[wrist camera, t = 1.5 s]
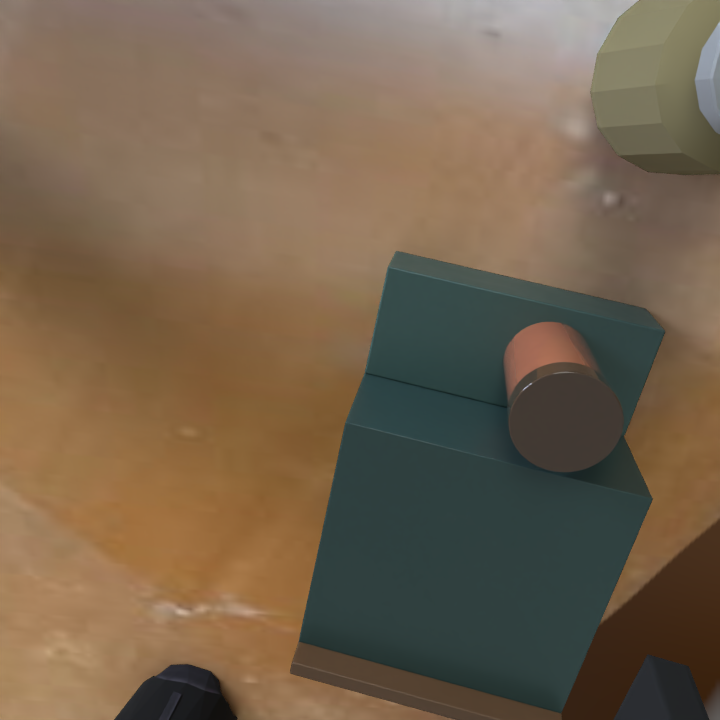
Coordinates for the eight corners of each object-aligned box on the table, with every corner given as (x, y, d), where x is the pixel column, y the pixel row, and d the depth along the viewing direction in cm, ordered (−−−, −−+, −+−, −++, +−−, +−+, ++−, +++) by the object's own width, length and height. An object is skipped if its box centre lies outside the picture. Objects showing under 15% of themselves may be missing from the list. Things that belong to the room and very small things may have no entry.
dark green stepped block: (396, 250, 38) (366, 307, 27) (646, 308, 37) (718, 390, 26) (331, 540, 45) (289, 674, 35) (538, 594, 44) (560, 749, 34)
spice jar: (515, 310, 34) (526, 360, 27) (606, 331, 34) (640, 387, 27) (490, 391, 36) (495, 457, 29) (577, 412, 35) (602, 484, 29)
